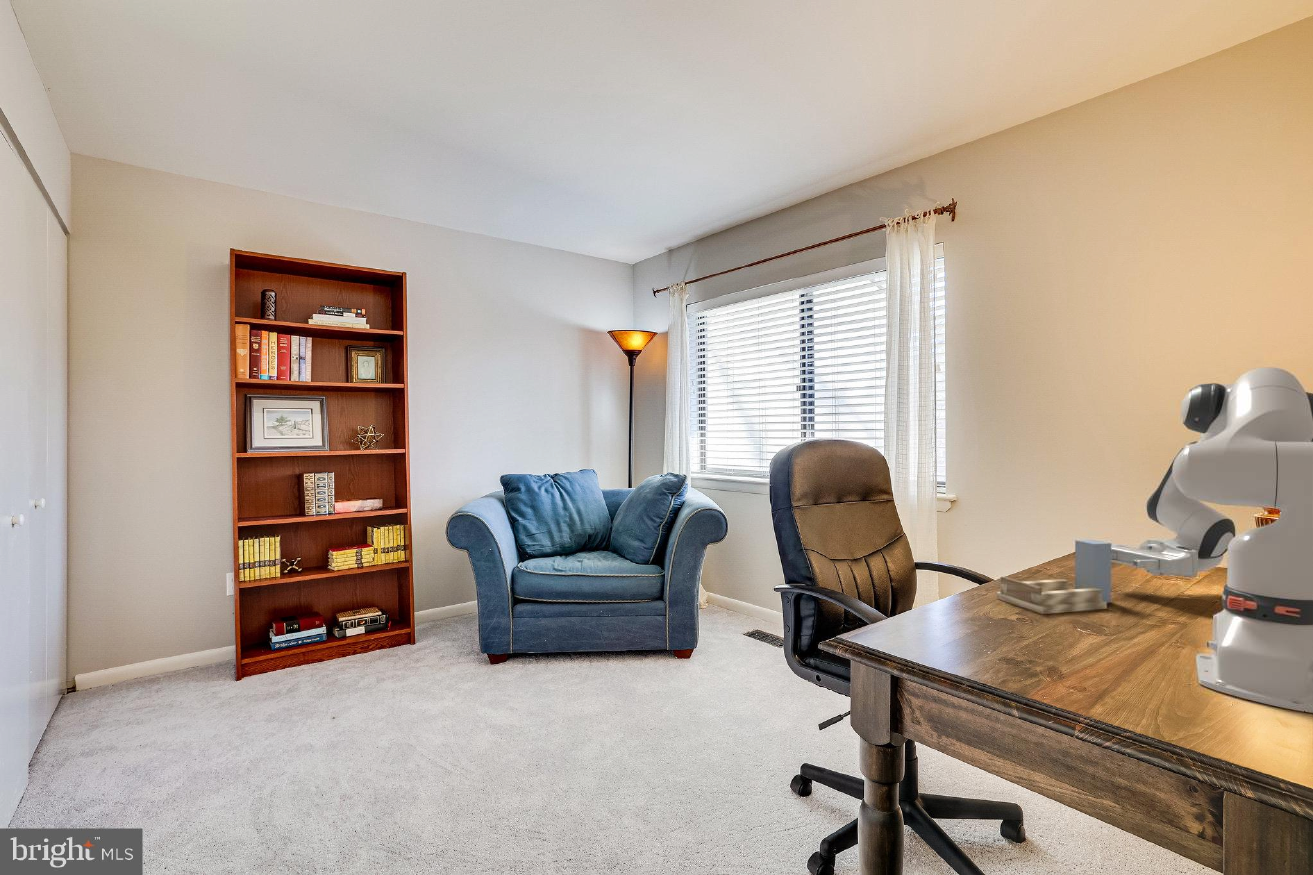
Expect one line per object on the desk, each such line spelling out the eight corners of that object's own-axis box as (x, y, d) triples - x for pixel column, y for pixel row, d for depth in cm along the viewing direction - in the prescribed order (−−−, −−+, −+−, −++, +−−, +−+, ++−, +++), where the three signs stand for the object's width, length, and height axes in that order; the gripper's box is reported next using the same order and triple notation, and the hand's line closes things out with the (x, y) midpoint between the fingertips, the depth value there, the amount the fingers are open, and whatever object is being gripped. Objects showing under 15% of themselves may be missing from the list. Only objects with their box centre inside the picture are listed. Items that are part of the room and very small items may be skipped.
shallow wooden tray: (1042, 614, 137) (1042, 589, 137) (996, 598, 150) (996, 575, 149) (1106, 608, 141) (1106, 584, 141) (1056, 593, 154) (1057, 571, 154)
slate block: (1093, 603, 146) (1094, 544, 145) (1074, 598, 150) (1075, 540, 150) (1110, 602, 147) (1111, 543, 147) (1090, 596, 152) (1091, 539, 151)
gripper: (1119, 537, 164) (1077, 539, 161) (1205, 552, 144) (1159, 555, 141) (1119, 560, 164) (1077, 563, 161) (1204, 579, 144) (1159, 582, 141)
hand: (1116, 559), depth 151 cm, fingers open, 8 cm apart
